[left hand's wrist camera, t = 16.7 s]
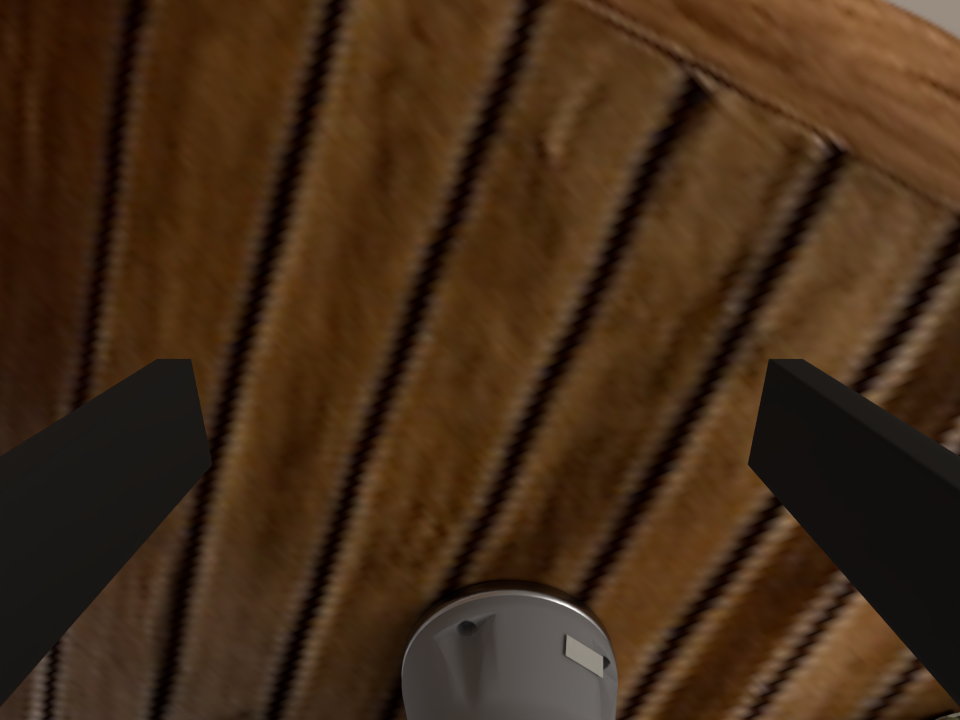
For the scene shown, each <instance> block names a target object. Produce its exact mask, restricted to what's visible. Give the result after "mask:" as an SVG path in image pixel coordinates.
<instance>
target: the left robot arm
mask: <svg viewBox="0 0 960 720" xmlns="http://www.w3.org/2000/svg"><path fill="white" fill-rule="evenodd" d="M211 465H212V461H211V456H210V451H209V446H208V441H207V436H206V431H205V427H204V422H203V417H202V412H201V407H200V402H199V397H198V392H197V387H196V382H195V377H194V372H193V367H192V362H191V359H157V360H155V361H153V362H152V363H150V364H149V365H147V366H145V367H144V368H142V369H140V370H139V371H137V372H136V373H134V374H132V375H131V376H129V377H128V378H126V379H124V380H123V381H121V382H120V383H118V384H116V385H115V386H113V387H112V388H110V389H108V390H107V391H105V392H103V393H102V394H100V395H99V396H97V397H95V398H94V399H92V400H91V401H89V402H87V403H86V404H84V405H83V406H81V407H79V408H78V409H76V410H75V411H73V412H71V413H70V414H68V415H67V416H65V417H63V418H62V419H60V420H58V421H57V422H55V423H54V424H52V425H50V426H49V427H47V428H46V429H44V430H42V431H41V432H39V433H38V434H36V435H34V436H33V437H31V438H30V439H28V440H26V441H25V442H23V443H22V444H20V445H18V446H17V447H15V448H13V449H12V450H10V451H9V452H7V453H5V454H4V455H2V456H1V457H0V707H1V705H2V704H3V703H4V702H5V701H6V700H7V699H8V697H9V696H10V695H11V694H12V693H13V692H14V691H15V689H16V688H17V687H18V686H19V685H20V684H21V683H22V681H23V680H24V679H25V678H26V677H27V676H28V674H29V673H30V672H31V671H32V670H33V669H34V668H35V666H36V665H37V664H38V663H39V662H40V661H41V660H42V658H43V657H44V656H45V655H46V654H47V653H48V652H49V650H50V649H51V648H52V647H53V646H54V645H55V644H56V642H57V641H58V640H59V639H60V638H61V637H62V636H63V634H64V633H65V632H66V631H67V630H68V629H69V628H70V626H71V625H72V624H73V623H74V622H75V621H76V620H77V618H78V617H79V616H80V615H81V614H82V613H83V612H84V610H85V609H86V608H87V607H88V606H89V605H90V604H91V602H92V601H93V600H94V599H95V598H96V597H97V596H98V594H99V593H100V592H101V591H102V590H103V589H104V588H105V586H106V585H107V584H108V583H109V582H110V581H111V580H112V578H113V577H114V576H115V575H116V574H117V573H118V572H119V570H120V569H121V568H122V567H123V566H124V565H125V564H126V562H127V561H128V560H129V559H130V558H131V557H132V556H133V554H134V553H135V552H136V551H137V550H138V549H139V548H140V546H141V545H142V544H143V543H144V542H145V541H146V540H147V538H148V537H149V536H150V535H151V534H152V533H153V532H154V530H155V529H156V528H157V527H158V526H159V525H160V524H161V522H162V521H163V520H164V519H165V518H166V517H167V516H168V514H169V513H170V512H171V511H172V510H173V509H174V508H175V506H176V505H177V504H178V503H179V502H180V501H181V500H182V498H183V497H184V496H185V495H186V494H187V493H188V492H189V490H190V489H191V488H192V487H193V486H194V485H195V484H196V482H197V481H198V480H199V479H200V478H201V477H202V476H203V474H204V473H205V472H206V471H207V470H208V469H209V468H210V466H211ZM748 465H749V466H750V468H751V469H752V470H753V471H754V472H755V473H756V474H757V476H758V477H759V478H760V479H761V480H762V481H763V482H764V484H765V485H766V486H767V487H768V488H769V489H770V490H771V492H772V493H773V494H774V495H775V496H776V497H777V498H778V500H779V501H780V502H781V503H782V504H783V505H784V506H785V508H786V509H787V510H788V511H789V512H790V513H791V514H792V516H793V517H794V518H795V519H796V520H797V521H798V522H799V524H800V525H801V526H802V527H803V528H804V529H805V530H806V532H807V533H808V534H809V535H810V536H811V537H812V538H813V540H814V541H815V542H816V543H817V544H818V545H819V546H820V548H821V549H822V550H823V551H824V552H825V553H826V554H827V556H828V557H829V558H830V559H831V560H832V561H833V562H834V564H835V565H836V566H837V567H838V568H839V569H840V570H841V572H842V573H843V574H844V575H845V576H846V577H847V578H848V580H849V581H850V582H851V583H852V584H853V585H854V586H855V588H856V589H857V590H858V591H859V592H860V593H861V594H862V596H863V597H864V598H865V599H866V600H867V601H868V602H869V604H870V605H871V606H872V607H873V608H874V609H875V610H876V612H877V613H878V614H879V615H880V616H881V617H882V618H883V620H884V621H885V622H886V623H887V624H888V625H889V626H890V628H891V629H892V630H893V631H894V632H895V633H896V634H897V636H898V637H899V638H900V639H901V640H902V641H903V642H904V644H905V645H906V646H907V647H908V648H909V649H910V650H911V652H912V653H913V654H914V655H915V656H916V657H917V658H918V660H919V661H920V662H921V663H922V664H923V665H924V666H925V668H926V669H927V670H928V671H929V672H930V673H931V675H932V676H933V677H934V678H935V679H936V680H937V681H938V683H939V684H940V685H941V686H942V687H943V688H944V689H945V691H946V692H947V693H948V694H949V695H950V696H951V697H952V699H953V700H954V701H955V702H956V703H957V704H958V705H959V707H960V457H959V456H958V455H956V454H955V453H953V452H951V451H950V450H948V449H947V448H945V447H943V446H942V445H940V444H938V443H937V442H935V441H934V440H932V439H930V438H929V437H927V436H926V435H924V434H922V433H921V432H919V431H918V430H916V429H914V428H913V427H911V426H910V425H908V424H906V423H905V422H903V421H902V420H900V419H898V418H897V417H895V416H893V415H892V414H890V413H889V412H887V411H885V410H884V409H882V408H881V407H879V406H877V405H876V404H874V403H873V402H871V401H869V400H868V399H866V398H865V397H863V396H861V395H860V394H858V393H857V392H855V391H853V390H852V389H850V388H848V387H847V386H845V385H844V384H842V383H840V382H839V381H837V380H836V379H834V378H832V377H831V376H829V375H828V374H826V373H824V372H823V371H821V370H820V369H818V368H816V367H815V366H813V365H811V364H810V363H808V362H807V361H805V360H803V359H769V362H768V367H767V372H766V377H765V382H764V387H763V392H762V397H761V402H760V407H759V412H758V417H757V422H756V427H755V431H754V436H753V441H752V446H751V451H750V456H749V461H748ZM617 691H618V677H617V666H616V660H615V655H614V652H613V648H612V644H611V641H610V638H609V635H608V633H607V631H606V628H605V627H604V625H603V624H602V622H601V620H600V619H599V618H598V617H597V615H596V614H595V613H594V612H593V611H592V610H591V609H590V608H589V607H587V606H586V605H585V604H584V603H582V602H581V601H579V600H578V599H576V598H575V597H573V596H571V595H569V594H567V593H566V592H563V591H561V590H558V589H556V588H553V587H550V586H547V585H542V584H538V583H533V582H526V581H496V582H488V583H482V584H478V585H474V586H471V587H468V588H465V589H462V590H459V591H457V592H455V593H453V594H451V595H449V596H447V597H445V598H443V599H442V600H440V601H439V602H437V603H436V604H434V605H433V606H432V607H431V608H430V609H428V610H427V611H426V612H425V613H424V614H423V615H422V616H421V618H420V619H419V620H418V622H417V623H416V624H415V626H414V627H413V629H412V631H411V633H410V635H409V637H408V640H407V643H406V647H405V652H404V659H403V665H402V695H403V700H404V705H405V710H406V715H407V720H615V716H616V703H617Z"/></svg>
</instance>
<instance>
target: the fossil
mask: <svg viewBox="0 0 960 720" xmlns="http://www.w3.org/2000/svg"><path fill="white" fill-rule="evenodd" d="M936 720H960V712H958V713H954V714H950V715H947V716H943V717H940V718H938V719H936Z"/></svg>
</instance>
